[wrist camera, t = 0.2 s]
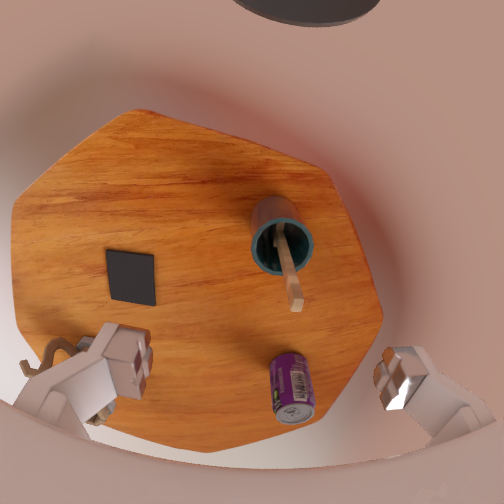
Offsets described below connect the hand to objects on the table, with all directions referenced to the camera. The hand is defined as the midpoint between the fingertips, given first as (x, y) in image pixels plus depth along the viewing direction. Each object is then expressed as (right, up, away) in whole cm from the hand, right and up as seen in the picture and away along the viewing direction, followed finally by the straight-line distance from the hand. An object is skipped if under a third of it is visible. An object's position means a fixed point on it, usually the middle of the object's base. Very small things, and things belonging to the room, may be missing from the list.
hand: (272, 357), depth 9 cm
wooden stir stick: (+3, +8, +30) cm, 31 cm away
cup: (+3, +8, +31) cm, 32 cm away
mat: (-20, -1, +34) cm, 40 cm away
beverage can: (+6, -17, +42) cm, 46 cm away
